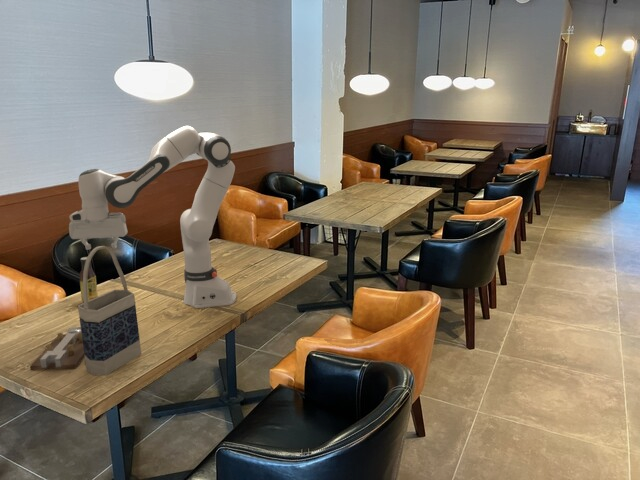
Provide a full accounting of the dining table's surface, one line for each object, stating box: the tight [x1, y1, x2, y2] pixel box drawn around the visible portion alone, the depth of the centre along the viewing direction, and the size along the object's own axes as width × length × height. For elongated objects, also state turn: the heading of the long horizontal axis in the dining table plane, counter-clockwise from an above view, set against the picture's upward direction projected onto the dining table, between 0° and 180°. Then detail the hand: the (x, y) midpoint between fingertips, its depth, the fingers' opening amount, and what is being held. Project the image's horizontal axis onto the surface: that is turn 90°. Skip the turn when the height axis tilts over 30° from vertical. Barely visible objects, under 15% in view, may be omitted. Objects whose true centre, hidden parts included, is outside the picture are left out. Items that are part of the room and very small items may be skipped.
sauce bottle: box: [79, 256, 99, 304], centre depth 212 cm, size 7×6×20 cm
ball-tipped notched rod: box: [40, 326, 81, 368], centre depth 171 cm, size 23×6×3 cm, turn 5°
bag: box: [77, 245, 142, 376], centre depth 162 cm, size 18×9×40 cm, turn 155°
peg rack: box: [29, 332, 85, 371], centre depth 172 cm, size 14×22×5 cm, turn 5°
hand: (101, 248), depth 192 cm, fingers open, 8 cm apart
